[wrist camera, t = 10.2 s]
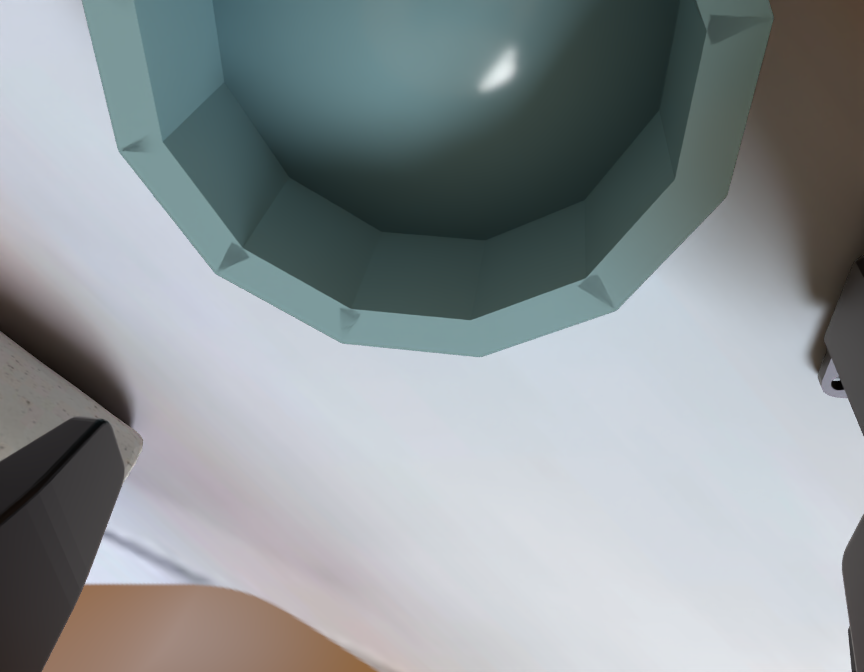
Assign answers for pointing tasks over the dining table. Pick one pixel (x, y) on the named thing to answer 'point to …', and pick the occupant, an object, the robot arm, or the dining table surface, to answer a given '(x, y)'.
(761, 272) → the dining table surface
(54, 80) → the dining table surface
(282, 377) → the dining table surface
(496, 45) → the bowl
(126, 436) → the ceramic mug
